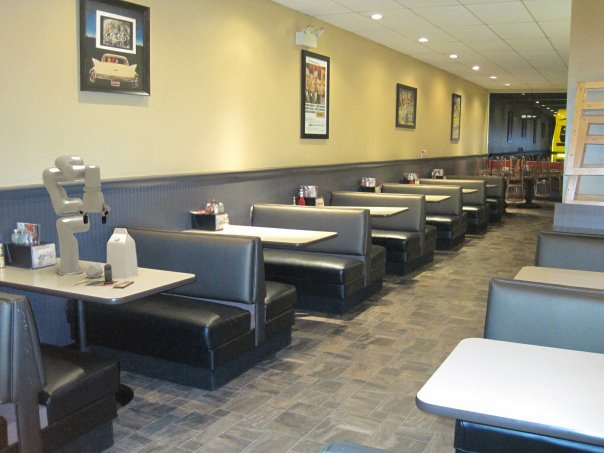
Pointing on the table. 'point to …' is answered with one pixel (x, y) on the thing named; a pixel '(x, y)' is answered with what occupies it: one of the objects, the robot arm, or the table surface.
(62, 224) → the robot arm
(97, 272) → the white faceted ball
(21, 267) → the table surface
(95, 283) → the game board
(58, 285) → the table surface
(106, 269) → the pawn
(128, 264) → the milk
